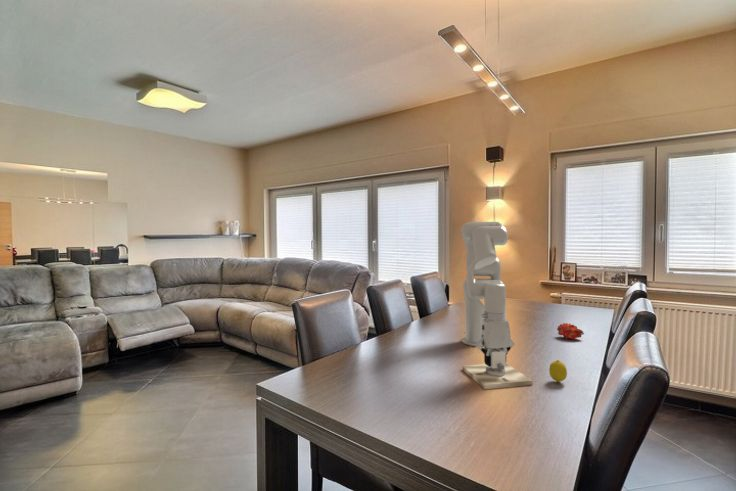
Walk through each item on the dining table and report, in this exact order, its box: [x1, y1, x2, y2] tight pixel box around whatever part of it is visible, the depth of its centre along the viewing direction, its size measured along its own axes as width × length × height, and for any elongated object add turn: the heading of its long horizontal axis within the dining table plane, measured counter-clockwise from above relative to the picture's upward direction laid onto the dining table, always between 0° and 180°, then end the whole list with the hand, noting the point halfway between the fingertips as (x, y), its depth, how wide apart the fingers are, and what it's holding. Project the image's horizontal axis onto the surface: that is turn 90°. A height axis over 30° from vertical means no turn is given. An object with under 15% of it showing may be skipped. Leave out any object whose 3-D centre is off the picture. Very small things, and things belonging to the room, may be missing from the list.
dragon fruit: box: [556, 322, 585, 341], centre depth 176 cm, size 8×8×12 cm
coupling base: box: [461, 363, 534, 390], centre depth 130 cm, size 18×18×4 cm
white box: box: [490, 348, 507, 370], centre depth 129 cm, size 7×5×6 cm
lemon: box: [548, 359, 568, 384], centre depth 125 cm, size 6×6×8 cm
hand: (495, 364), depth 130 cm, fingers closed on white box, 5 cm apart
